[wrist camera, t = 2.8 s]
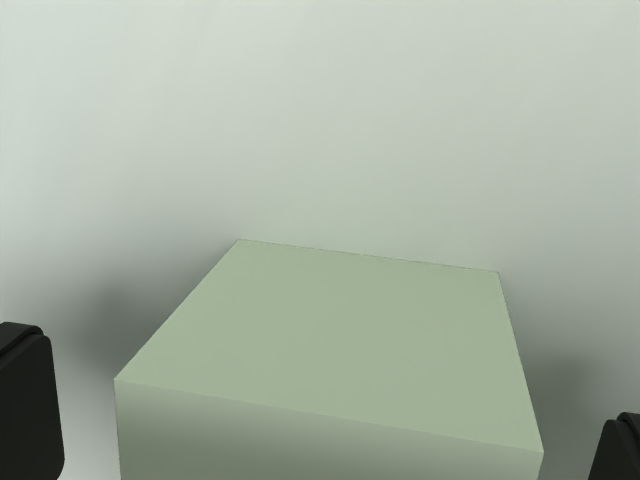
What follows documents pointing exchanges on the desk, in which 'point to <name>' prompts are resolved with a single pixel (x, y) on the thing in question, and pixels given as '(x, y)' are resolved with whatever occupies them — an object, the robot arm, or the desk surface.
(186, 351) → the sage cube
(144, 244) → the desk surface
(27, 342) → the robot arm
